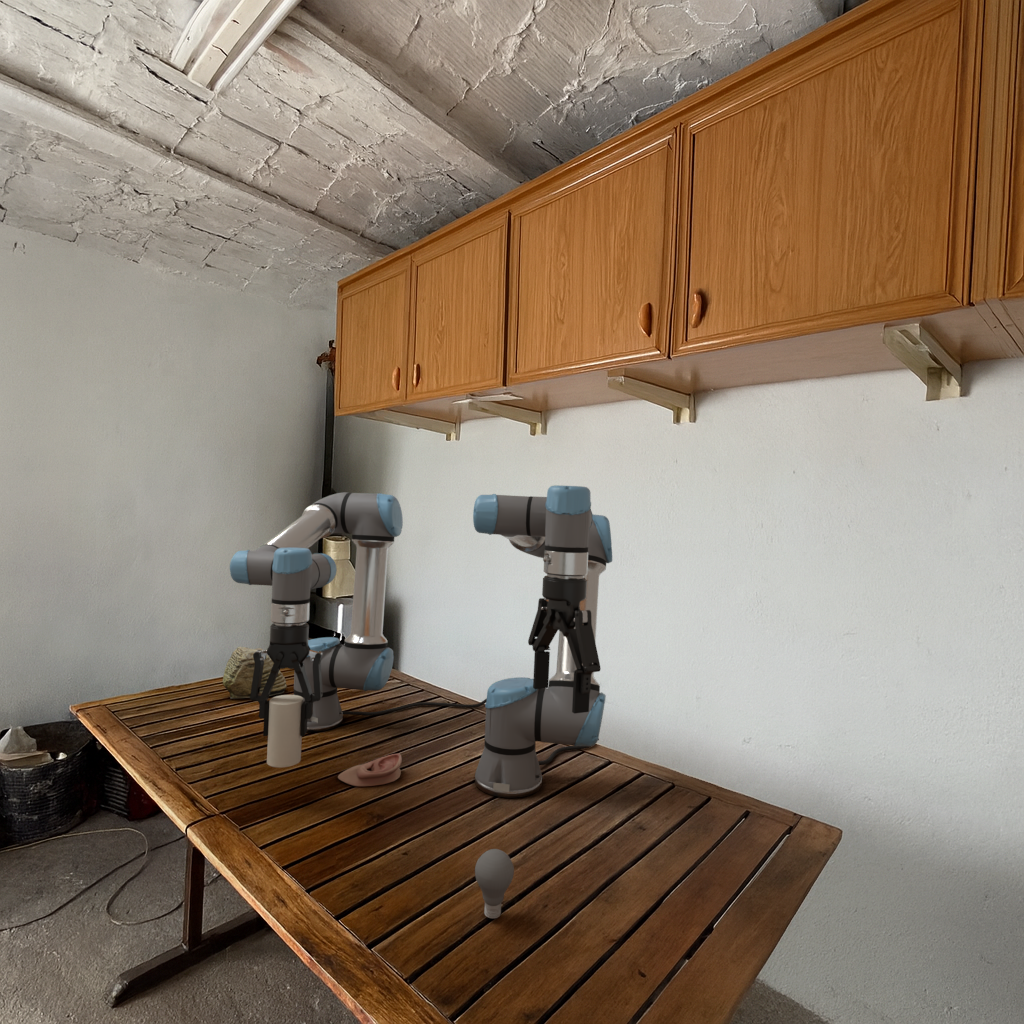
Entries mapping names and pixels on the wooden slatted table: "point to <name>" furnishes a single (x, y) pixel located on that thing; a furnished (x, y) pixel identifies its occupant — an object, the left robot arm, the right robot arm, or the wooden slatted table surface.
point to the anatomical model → (373, 772)
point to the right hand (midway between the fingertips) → (559, 699)
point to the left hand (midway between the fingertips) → (285, 733)
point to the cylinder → (284, 731)
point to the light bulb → (494, 879)
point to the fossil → (248, 674)
